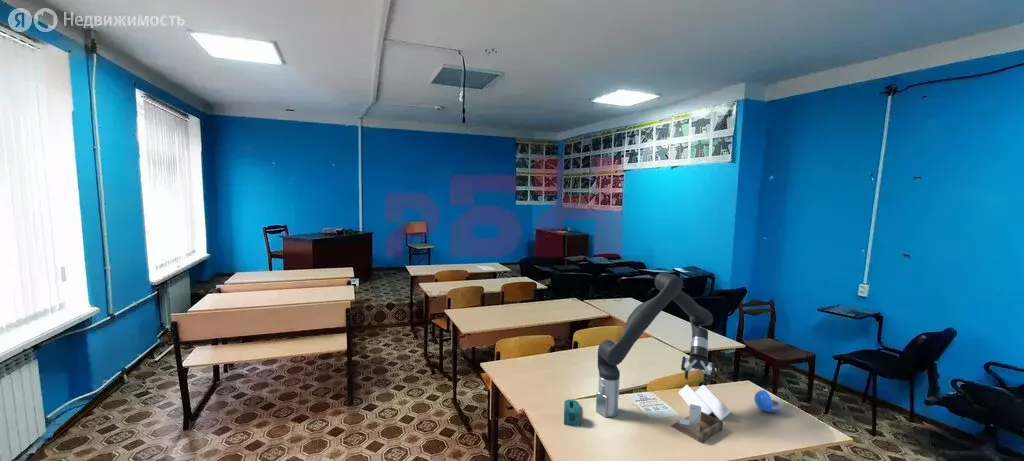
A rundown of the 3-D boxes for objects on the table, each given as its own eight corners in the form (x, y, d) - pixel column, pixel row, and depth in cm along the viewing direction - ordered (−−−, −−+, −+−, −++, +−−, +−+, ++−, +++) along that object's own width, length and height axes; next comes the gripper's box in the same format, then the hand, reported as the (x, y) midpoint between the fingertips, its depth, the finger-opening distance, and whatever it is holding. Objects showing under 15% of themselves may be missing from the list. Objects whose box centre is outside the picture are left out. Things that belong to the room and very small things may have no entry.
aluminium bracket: (699, 426, 175) (701, 406, 174) (699, 431, 171) (701, 411, 170) (679, 421, 178) (681, 401, 177) (679, 426, 174) (680, 406, 173)
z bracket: (710, 429, 181) (701, 420, 180) (685, 400, 206) (677, 392, 205) (731, 412, 180) (722, 402, 179) (703, 385, 205) (695, 376, 204)
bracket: (579, 426, 173) (580, 409, 173) (563, 424, 174) (564, 407, 174) (578, 404, 191) (579, 389, 190) (564, 403, 192) (564, 387, 191)
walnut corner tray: (701, 443, 164) (702, 434, 163) (671, 426, 175) (671, 417, 175) (722, 430, 173) (722, 421, 172) (691, 415, 184) (692, 407, 184)
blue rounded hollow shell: (786, 416, 186) (788, 396, 185) (762, 416, 185) (764, 396, 184) (771, 404, 195) (773, 385, 194) (748, 404, 195) (749, 386, 194)
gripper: (683, 342, 192) (680, 375, 183) (716, 348, 186) (715, 382, 177) (682, 349, 197) (680, 381, 188) (715, 355, 191) (714, 388, 182)
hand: (697, 381), depth 182 cm, fingers open, 8 cm apart
